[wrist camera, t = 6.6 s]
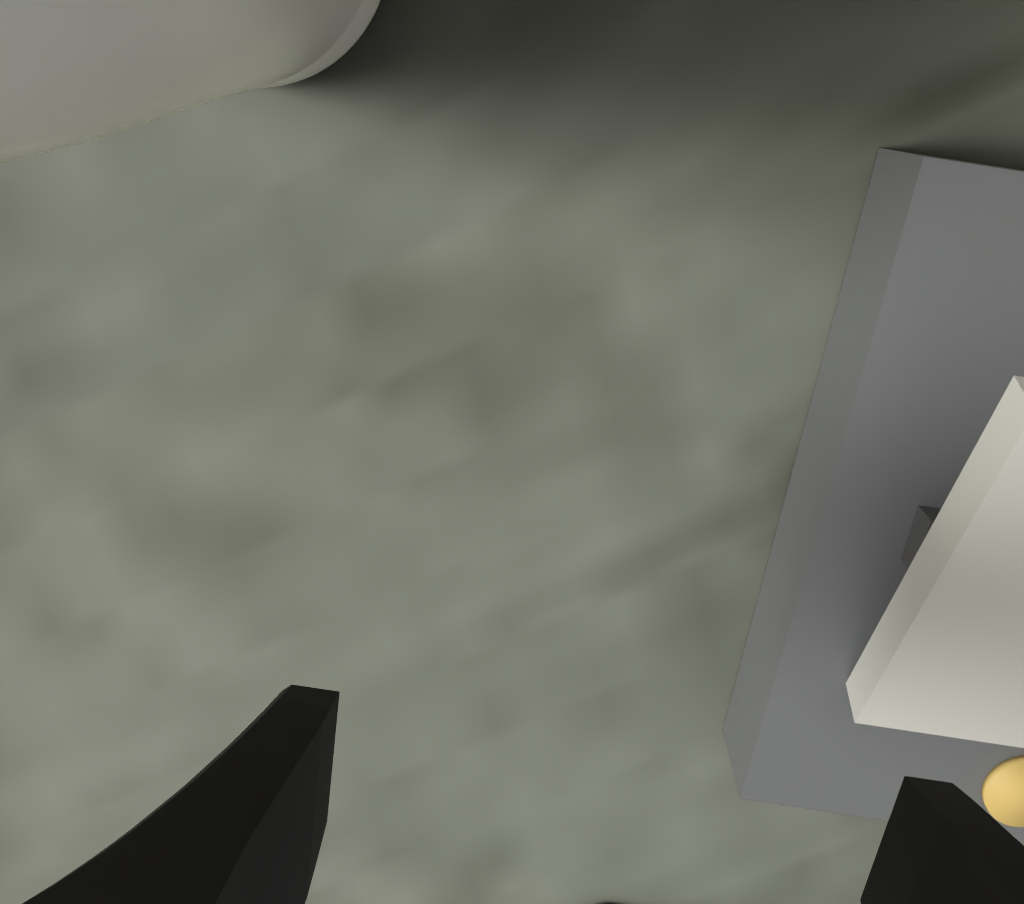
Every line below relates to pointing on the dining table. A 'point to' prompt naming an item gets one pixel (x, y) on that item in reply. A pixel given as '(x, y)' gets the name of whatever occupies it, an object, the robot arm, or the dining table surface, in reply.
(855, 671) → the switch
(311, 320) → the dining table surface
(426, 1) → the dining table surface
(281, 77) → the drinking glass
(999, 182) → the switch panel
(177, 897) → the robot arm
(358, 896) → the dining table surface
